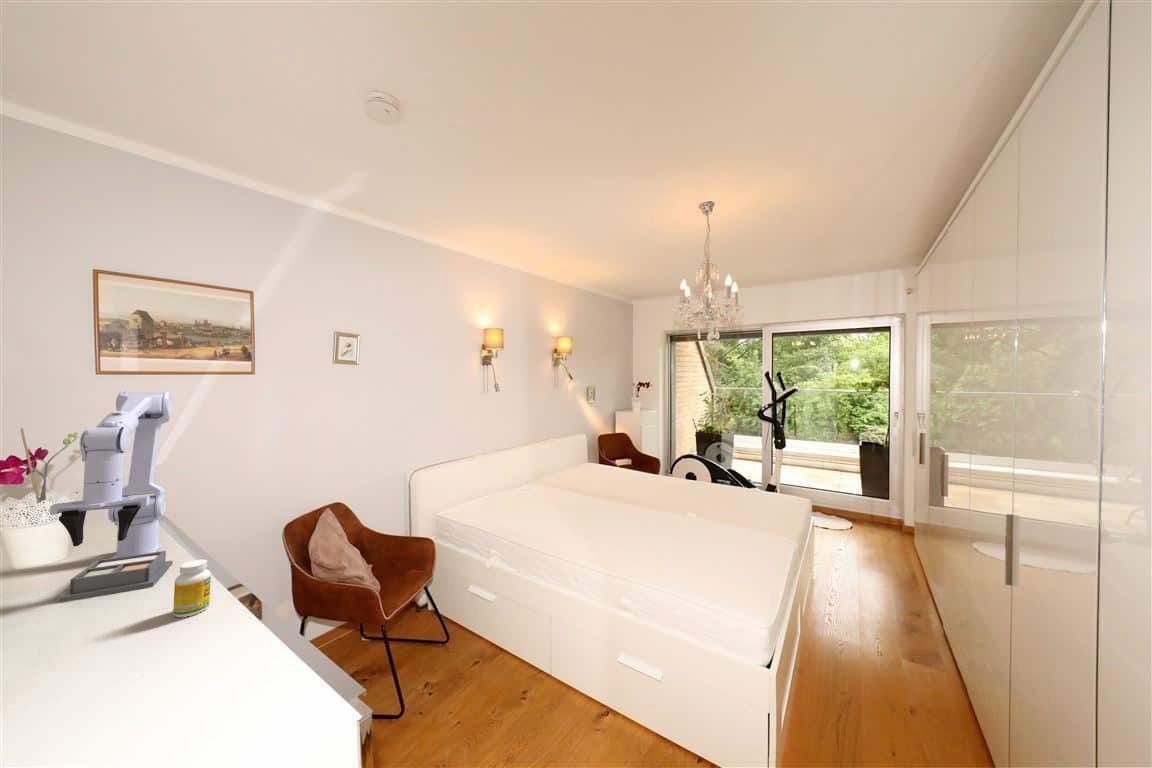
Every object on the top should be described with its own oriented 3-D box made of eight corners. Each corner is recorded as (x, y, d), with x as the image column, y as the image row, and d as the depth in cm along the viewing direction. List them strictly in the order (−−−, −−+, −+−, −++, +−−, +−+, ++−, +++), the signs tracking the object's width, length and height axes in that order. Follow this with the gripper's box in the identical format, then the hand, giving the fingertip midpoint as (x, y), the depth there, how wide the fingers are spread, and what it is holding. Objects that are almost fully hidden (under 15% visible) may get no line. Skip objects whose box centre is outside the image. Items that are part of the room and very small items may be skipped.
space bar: (100, 569, 95) (101, 563, 95) (157, 561, 100) (158, 555, 100) (92, 576, 92) (93, 569, 92) (152, 567, 97) (152, 560, 97)
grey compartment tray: (90, 576, 96) (91, 559, 96) (172, 564, 103) (173, 548, 103) (58, 602, 84) (59, 583, 84) (153, 586, 91) (154, 568, 91)
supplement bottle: (174, 609, 82) (177, 562, 82) (210, 601, 85) (212, 555, 85) (171, 621, 78) (173, 571, 78) (208, 612, 81) (210, 564, 81)
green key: (89, 578, 90) (89, 572, 90) (115, 574, 92) (115, 568, 92) (80, 586, 87) (80, 578, 87) (107, 581, 89) (107, 574, 89)
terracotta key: (125, 573, 93) (125, 566, 93) (149, 569, 95) (150, 563, 95) (118, 580, 90) (118, 573, 90) (143, 576, 92) (143, 569, 92)
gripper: (43, 487, 83) (39, 554, 83) (143, 480, 91) (139, 541, 90) (61, 481, 89) (58, 543, 89) (153, 475, 97) (151, 532, 96)
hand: (100, 542), depth 90 cm, fingers open, 6 cm apart
